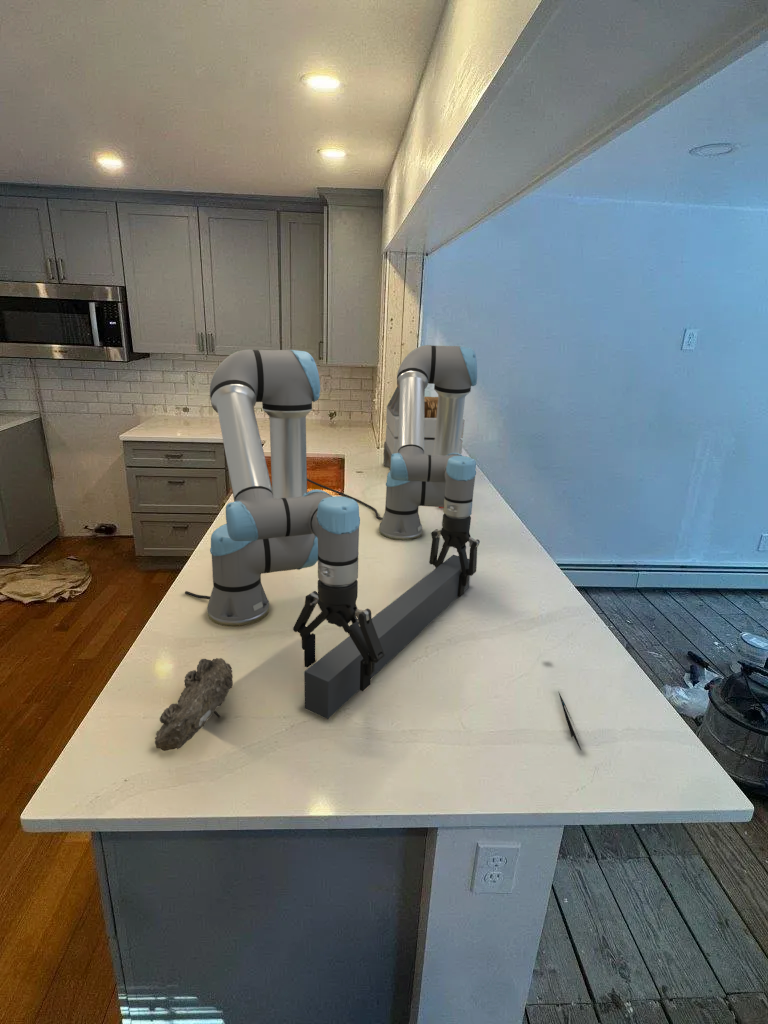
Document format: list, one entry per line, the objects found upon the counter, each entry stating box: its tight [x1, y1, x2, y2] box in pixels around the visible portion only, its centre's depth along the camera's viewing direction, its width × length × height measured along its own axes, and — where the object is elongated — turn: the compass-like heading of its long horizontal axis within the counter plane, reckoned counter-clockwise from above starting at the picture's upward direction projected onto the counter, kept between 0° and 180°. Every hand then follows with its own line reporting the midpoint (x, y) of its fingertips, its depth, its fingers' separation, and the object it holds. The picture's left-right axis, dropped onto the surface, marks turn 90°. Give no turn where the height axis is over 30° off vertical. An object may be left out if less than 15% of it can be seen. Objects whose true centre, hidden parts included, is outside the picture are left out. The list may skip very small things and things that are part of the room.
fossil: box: [154, 657, 234, 752], centre depth 107 cm, size 22×10×15 cm
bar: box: [303, 554, 471, 720], centre depth 136 cm, size 68×6×9 cm, turn 149°
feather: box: [546, 662, 582, 751], centre depth 116 cm, size 2×28×2 cm
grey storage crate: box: [383, 385, 465, 472], centre depth 268 cm, size 34×33×41 cm
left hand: (336, 675), depth 113 cm, fingers open, 13 cm apart
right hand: (450, 591), depth 160 cm, fingers closed on bar, 6 cm apart
